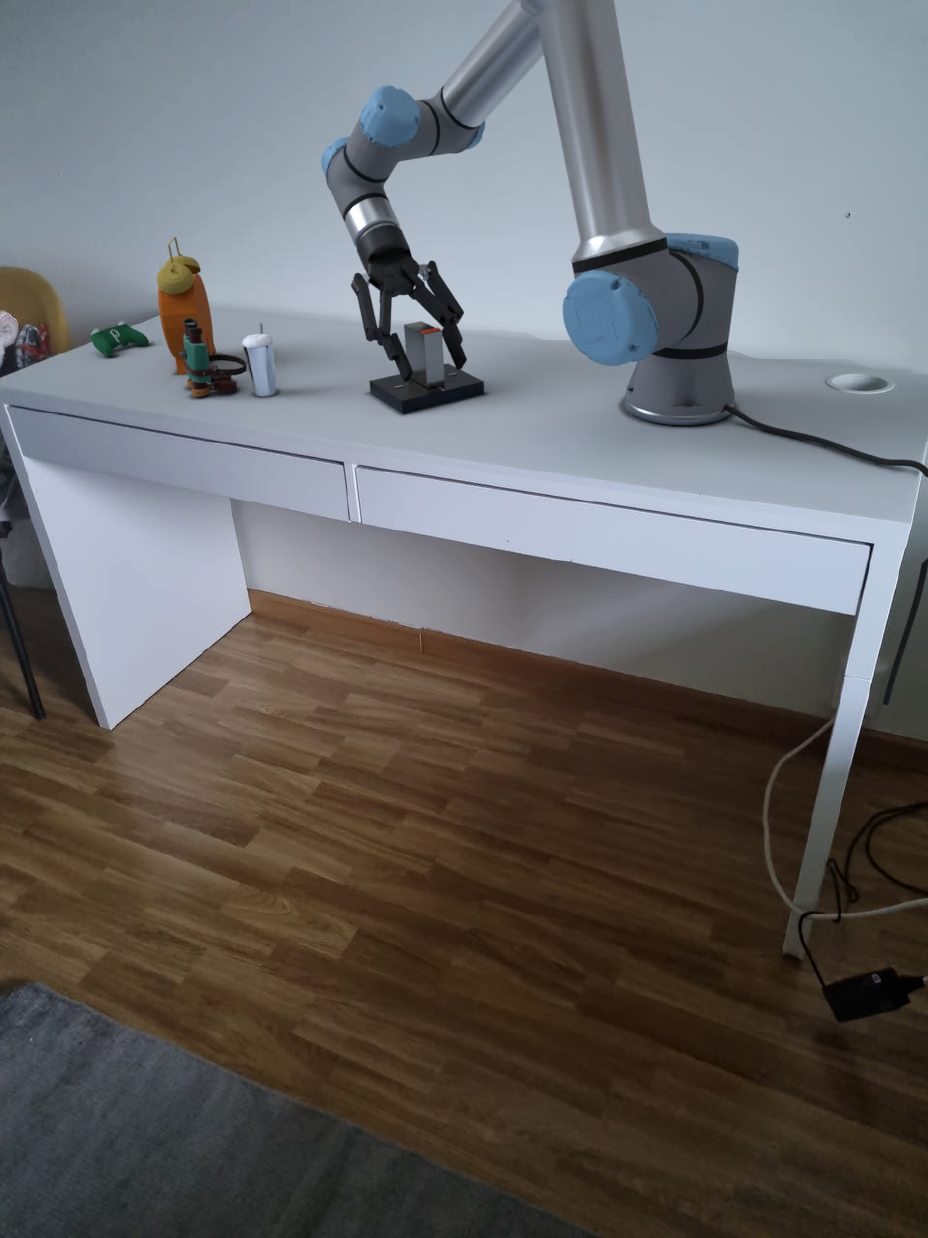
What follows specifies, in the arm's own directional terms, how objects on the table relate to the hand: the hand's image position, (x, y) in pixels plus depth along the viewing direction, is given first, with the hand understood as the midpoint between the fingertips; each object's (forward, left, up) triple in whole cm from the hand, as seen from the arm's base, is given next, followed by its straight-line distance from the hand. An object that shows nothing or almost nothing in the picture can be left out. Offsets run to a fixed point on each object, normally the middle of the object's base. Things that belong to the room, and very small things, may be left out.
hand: (435, 370), depth 132 cm
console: (+3, -1, -4) cm, 6 cm away
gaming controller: (+64, +20, -5) cm, 67 cm away
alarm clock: (+45, +15, -5) cm, 48 cm away
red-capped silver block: (+3, -1, -2) cm, 4 cm away
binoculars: (+31, +19, -5) cm, 37 cm away
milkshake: (+23, +15, -5) cm, 28 cm away
